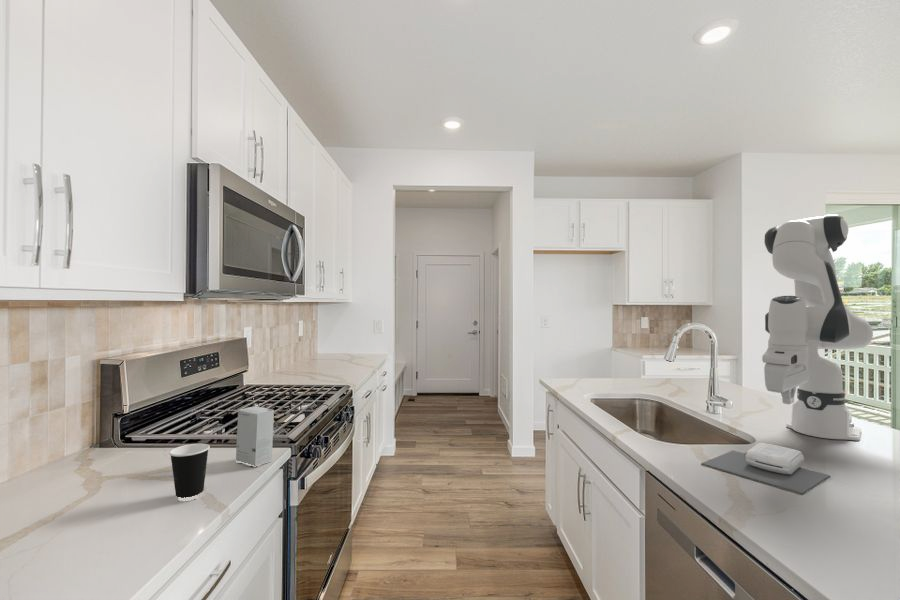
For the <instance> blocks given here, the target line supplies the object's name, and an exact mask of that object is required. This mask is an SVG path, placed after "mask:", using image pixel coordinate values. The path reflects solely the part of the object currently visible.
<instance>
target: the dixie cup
mask: <svg viewBox="0 0 900 600" xmlns="http://www.w3.org/2000/svg"><path fill="white" fill-rule="evenodd" d="M210 447H211V446H210V444H207V443H190V444H185V445H181V446H177V447H175V448H172V449H171V450H170V451H169V453H168V454H169V456H170V461H171V469H172V475H173V476H172V477H173V484H174V490H175V491H174V492H175V496H177V497H181V498H184V497H185V498H186V497H192V496H195V495H198V494H200V493H202V494H203V492H204V490H205V489H204V488H205V480H206V473H207V464H208V454H209V449H210ZM177 497H176V498H177Z"/></svg>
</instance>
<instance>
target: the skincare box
mask: <svg viewBox="0 0 900 600" xmlns="http://www.w3.org/2000/svg"><path fill="white" fill-rule="evenodd" d="M274 414H275V410H274V409H272V408H266V407H262V406H261V407H260V406H255V405H253V406H250V407H249V406H248V407H245V408H240V409H237V428H236V430H237V431H236V449H235V450H236V451H235V461H236V460H237V461H241V462H244V463H248V464H251V465H254V466H256V465H259V464H262V463H265V462H269V461H273V443H274V442H273V441H274Z"/></svg>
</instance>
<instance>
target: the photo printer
mask: <svg viewBox="0 0 900 600" xmlns="http://www.w3.org/2000/svg"><path fill="white" fill-rule="evenodd" d="M804 461H805V457H804V455H803V453H802V452H801V451H800V450H797V449H793V448H790V447H785V446H780V445H777V444H772V443H771V444H770V443H766V442H758V443H756V445H754V446H752V447H751V448H750V449H748V450H747V451H746V462H747V463H748V464H750V465H752V466H754V467H757V468H760V469H764V470H767V471H771V472H776V473H781V474H792V473H793V472H794V471H795V470H797V469H798V468H799V467H800V468H801V466H802V464H803V463H804Z"/></svg>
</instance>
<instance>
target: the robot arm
mask: <svg viewBox="0 0 900 600" xmlns="http://www.w3.org/2000/svg"><path fill="white" fill-rule="evenodd" d="M848 234H849V225H848V223H847V221H846V220H845V219H844V218H843V216H842V215H840V214H834V213H833V214H825V215H824V216H823V215H822V216H821V215H820V216H815V217H807V218H802V219H796V220H793V219H792V220H789V221H787V222H784V223H783V224H781V225H776V226H773V227H771V228H769V229H768V230H767V231H766V232H765V234H764V239H763V240H764V242H763V243H764V246H765V248H766V250H767V252H768V253H769V254H771V258H772V266H773V268H774V270H776V272H777V273H779V274H780V275H782V276H783V277H786V278H787V279H791V280H793V282H794V283H793V284H794V293H795V294H794V295H780V296H775V297H773V298H772V299H771V300H770V302H769V308H768V312H767V313H766V314H765V315H764V325H765V327H764V330H765V332H767V333H768V334H769V339H768V343H767V349H766V350H765V352H764V354H763V355H762V357H761V358H762V359H761V361H762V363H764V369H763V371H764V384H765V385H764V386H765V388H766V390H767V391H768V392H772V393H779V394H780V395H781V397H782V399H781V400H782V401H781V402H782V404H783V405H790V404H792V407H791V421H790V422H788V423H786V424H785V425H786V428H789V429H791V430H793V431H795V432H797V433H800V434H803V435H806V436H810V437H815V438H821V439H828V440H829V439H830V440H846V441H847V440H849V441H860V439H861V435H862V434H861V433H862V428H860V427H859V426H858V427H857V426H855V424H854V423H853V416H852V412H851V411H850V409H849V408H848V407H847V405H846V403H847V402H846V391H844V390H843V388H844V387H843V382H844V381H843V371H842V368H841V367H840V366H839V365H838V364H837V363H835V362H833V361H831V360H828V359H827V358H824V357H822V356H820V354H819V350H820V349H822V350H824V349H825V350H853V349H854V350H855V349H861V348H865V347H867V346H868V345H869V344H870V343H871V341H872V340H873V336H874V330H873V328H872V325H871V324H870V323H869V322H868V321H867V320H866V319H864V318H862V317H861V316H858V315H857V314H855V313H854V312H853V311H851V310H850V309H849V308H848V307H847V306H846V305H845V303H844V302H843V298H842V295H841V290H840V288H839V283H838V280H837V270H836V265H835V260H834V259H833V258H834V257H833V255H832V253H834V252H836V251H838V248H839V247H840V246H842V245H843V244H844V243H845V242H846V241H847V238H848ZM830 249H831V250H832V253H831V250H830ZM795 396H796V398H797V401H795Z"/></svg>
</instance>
